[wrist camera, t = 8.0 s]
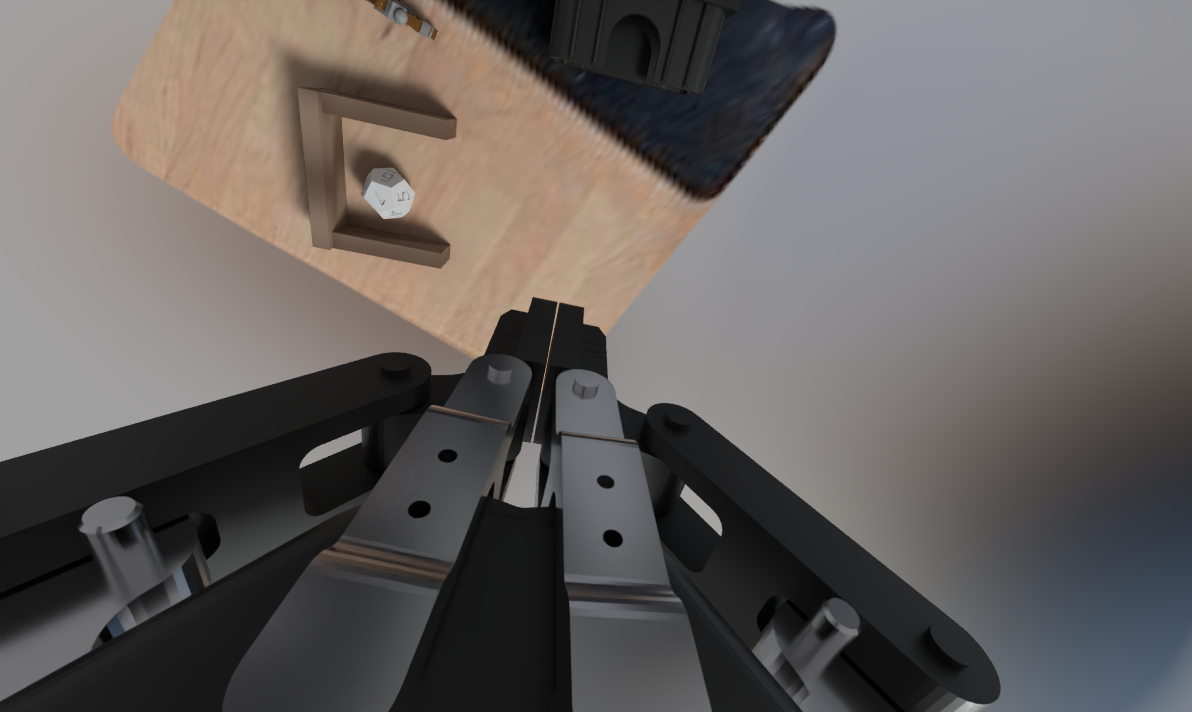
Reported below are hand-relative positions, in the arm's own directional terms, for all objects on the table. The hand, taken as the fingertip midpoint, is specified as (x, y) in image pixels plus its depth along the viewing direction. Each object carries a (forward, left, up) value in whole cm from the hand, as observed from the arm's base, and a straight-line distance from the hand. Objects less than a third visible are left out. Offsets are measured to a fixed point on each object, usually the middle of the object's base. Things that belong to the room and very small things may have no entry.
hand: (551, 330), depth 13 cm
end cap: (-11, +2, -25) cm, 27 cm away
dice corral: (+2, -13, -25) cm, 28 cm away
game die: (+3, -14, -25) cm, 28 cm away
